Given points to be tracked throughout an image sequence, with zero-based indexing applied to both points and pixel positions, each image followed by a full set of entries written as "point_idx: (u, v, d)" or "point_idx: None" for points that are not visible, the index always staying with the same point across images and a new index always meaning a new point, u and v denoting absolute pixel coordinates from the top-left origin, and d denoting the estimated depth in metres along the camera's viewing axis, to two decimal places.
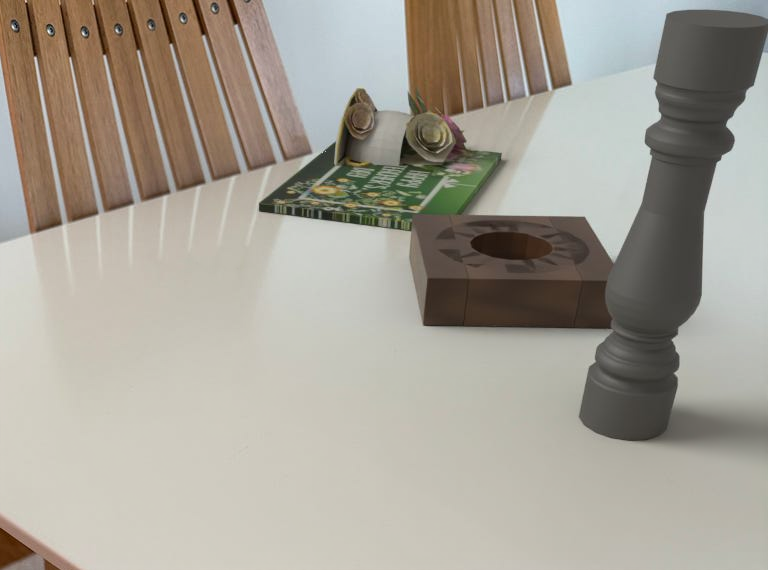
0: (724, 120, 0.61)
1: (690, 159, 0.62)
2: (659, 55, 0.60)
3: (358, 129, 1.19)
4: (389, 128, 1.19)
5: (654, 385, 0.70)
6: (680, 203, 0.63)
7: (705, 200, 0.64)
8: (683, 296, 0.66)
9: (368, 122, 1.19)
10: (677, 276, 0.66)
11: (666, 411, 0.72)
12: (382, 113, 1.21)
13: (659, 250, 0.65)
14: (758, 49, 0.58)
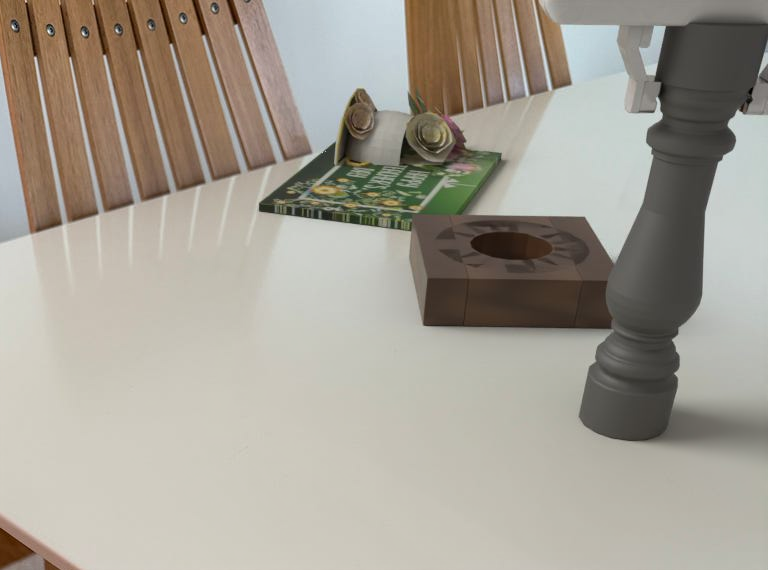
0: (726, 120, 0.61)
1: (692, 158, 0.62)
2: (661, 54, 0.60)
3: (358, 129, 1.19)
4: (389, 128, 1.19)
5: (654, 384, 0.70)
6: (681, 202, 0.63)
7: (706, 200, 0.64)
8: (684, 296, 0.66)
9: (368, 122, 1.19)
10: (678, 276, 0.66)
11: (666, 411, 0.72)
12: (382, 113, 1.21)
13: (660, 250, 0.65)
14: (760, 49, 0.58)
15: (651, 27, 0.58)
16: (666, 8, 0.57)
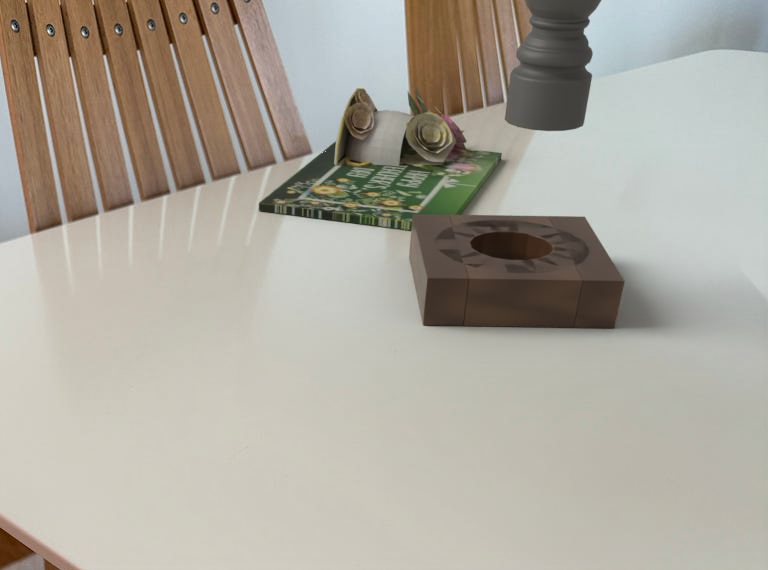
0: None
1: None
2: None
3: (358, 129, 1.19)
4: (389, 128, 1.19)
5: (568, 73, 0.78)
6: None
7: None
8: None
9: (368, 122, 1.19)
10: None
11: (581, 103, 0.79)
12: (382, 113, 1.21)
13: None
14: None
15: None
16: None
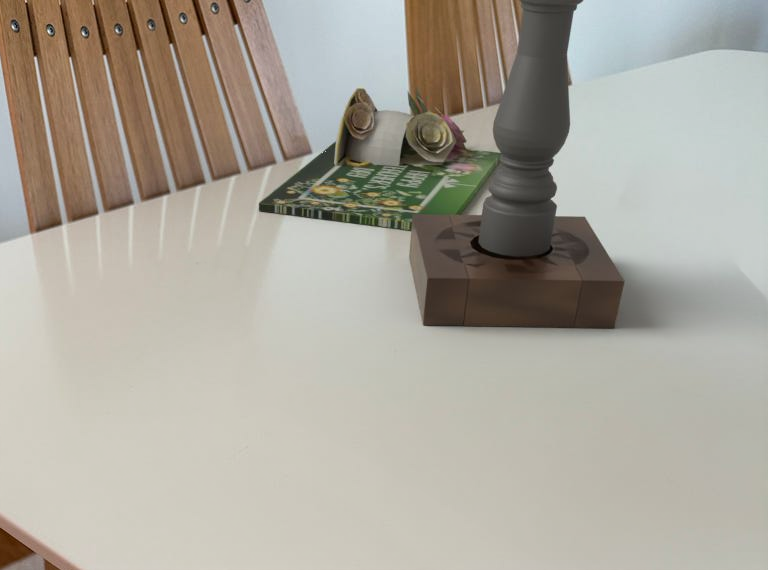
0: None
1: (550, 7, 0.77)
2: None
3: (358, 129, 1.19)
4: (389, 128, 1.19)
5: (534, 207, 0.86)
6: (544, 45, 0.79)
7: (565, 44, 0.80)
8: (552, 126, 0.82)
9: (368, 122, 1.19)
10: (546, 109, 0.81)
11: (546, 231, 0.88)
12: (382, 113, 1.21)
13: (530, 86, 0.81)
14: None
15: None
16: None
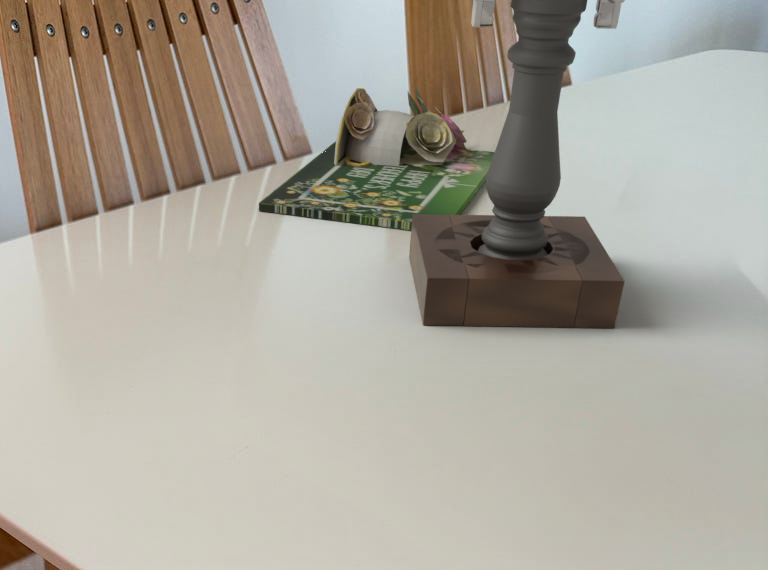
0: (564, 38, 0.79)
1: (540, 69, 0.80)
2: None
3: (358, 129, 1.19)
4: (389, 128, 1.19)
5: (526, 257, 0.89)
6: (535, 105, 0.82)
7: (556, 103, 0.82)
8: (542, 181, 0.85)
9: (368, 122, 1.19)
10: (537, 165, 0.84)
11: None
12: (382, 113, 1.21)
13: (522, 143, 0.83)
14: None
15: None
16: None
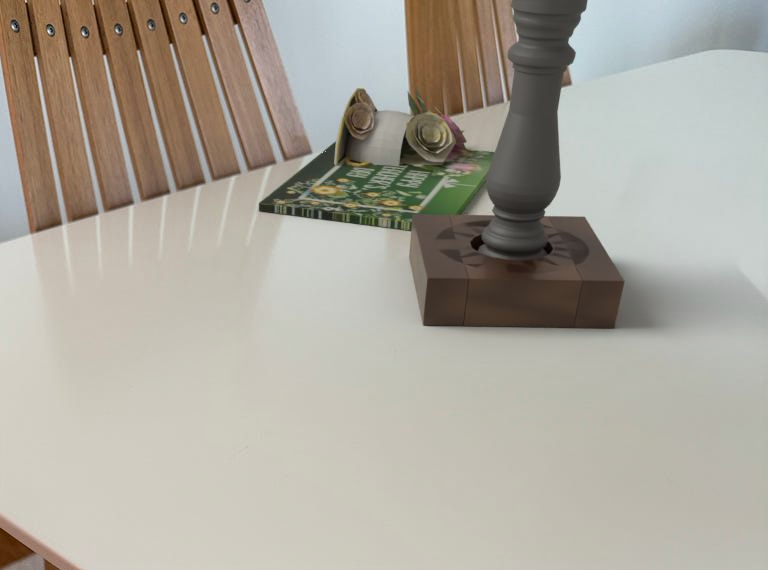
0: (564, 38, 0.79)
1: (540, 69, 0.80)
2: None
3: (358, 129, 1.19)
4: (389, 128, 1.19)
5: (526, 257, 0.89)
6: (535, 105, 0.82)
7: (556, 103, 0.82)
8: (543, 181, 0.85)
9: (368, 122, 1.19)
10: (537, 165, 0.84)
11: None
12: (382, 113, 1.21)
13: (522, 143, 0.83)
14: None
15: None
16: None
